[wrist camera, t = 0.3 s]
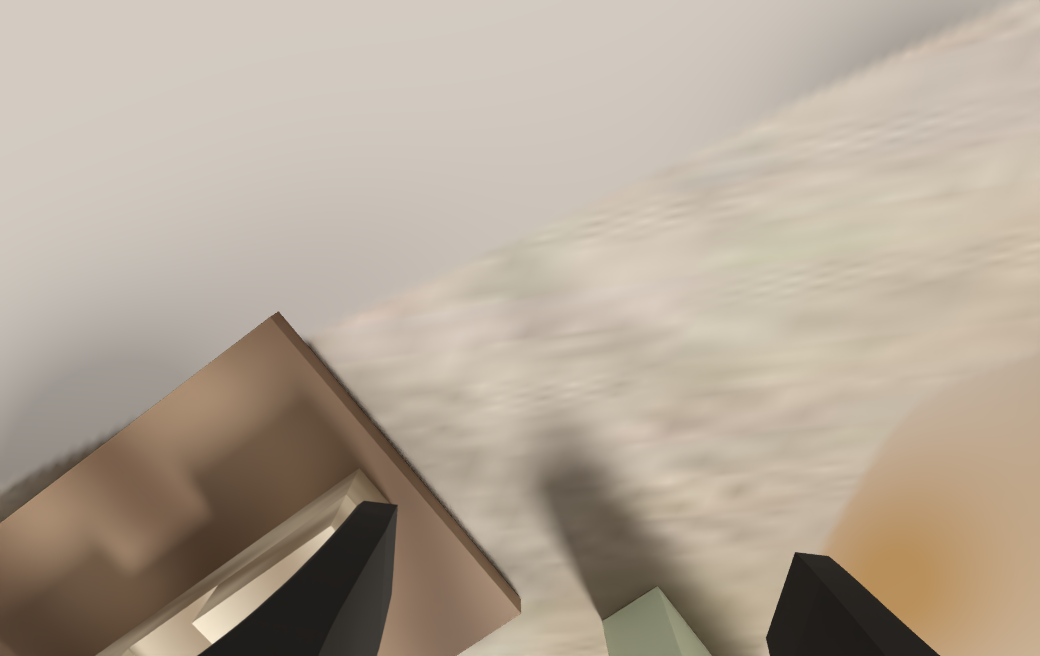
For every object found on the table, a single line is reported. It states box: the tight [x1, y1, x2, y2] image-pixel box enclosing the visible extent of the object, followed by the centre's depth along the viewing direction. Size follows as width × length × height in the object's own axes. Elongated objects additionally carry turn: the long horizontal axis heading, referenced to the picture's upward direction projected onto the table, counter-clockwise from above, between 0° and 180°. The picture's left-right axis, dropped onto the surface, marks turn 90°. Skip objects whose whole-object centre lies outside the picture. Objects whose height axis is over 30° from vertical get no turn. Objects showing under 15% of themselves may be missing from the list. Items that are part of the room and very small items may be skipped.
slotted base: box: [0, 312, 521, 656], centre depth 22 cm, size 16×13×4 cm
